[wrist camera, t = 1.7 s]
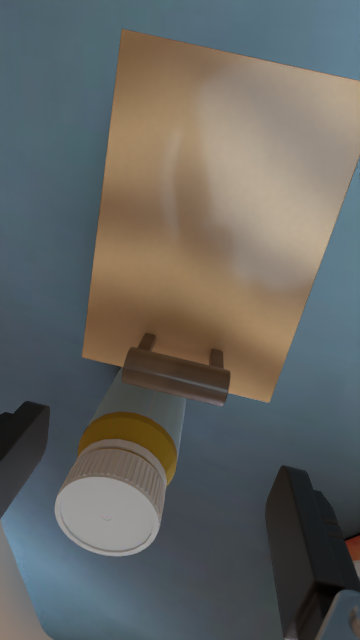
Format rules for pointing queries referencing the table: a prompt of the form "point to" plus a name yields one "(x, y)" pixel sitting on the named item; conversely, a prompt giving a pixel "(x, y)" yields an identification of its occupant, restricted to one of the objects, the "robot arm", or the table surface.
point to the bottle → (122, 471)
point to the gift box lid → (214, 214)
